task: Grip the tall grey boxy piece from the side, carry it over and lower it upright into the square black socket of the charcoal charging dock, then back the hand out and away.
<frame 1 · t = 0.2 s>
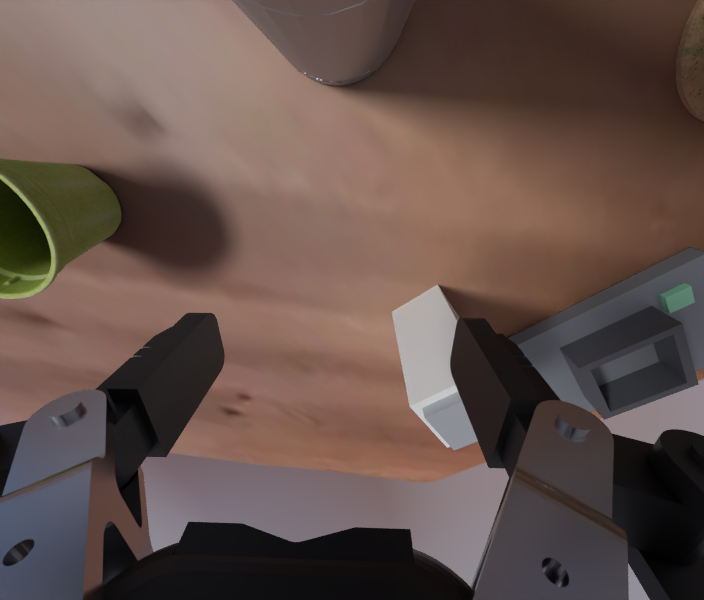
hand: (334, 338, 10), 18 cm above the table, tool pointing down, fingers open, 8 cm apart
plant pot: (87, 201, 26), on the table
grey boxy piece: (427, 316, 30), on the table
dock: (604, 346, 32), on the table
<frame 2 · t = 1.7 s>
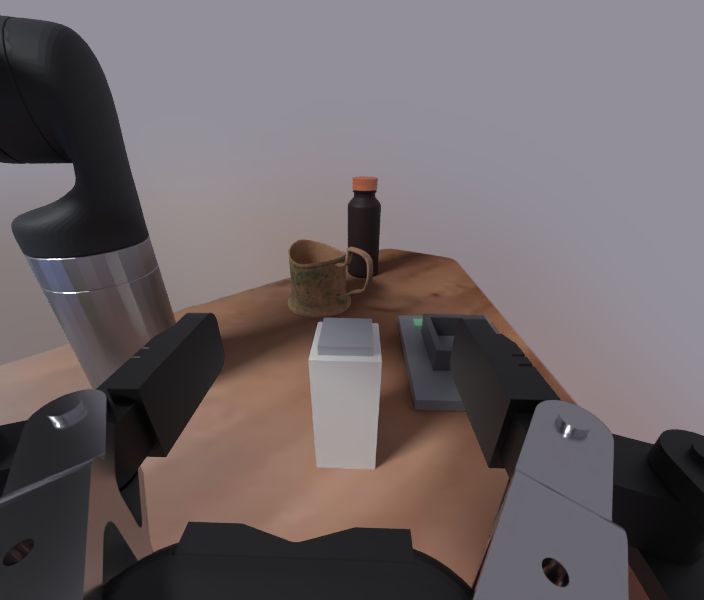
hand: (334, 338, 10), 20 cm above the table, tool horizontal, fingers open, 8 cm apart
bottle: (362, 273, 68), on the table
grey boxy piece: (347, 442, 29), on the table
mug: (331, 308, 53), on the table
dock: (456, 359, 40), on the table
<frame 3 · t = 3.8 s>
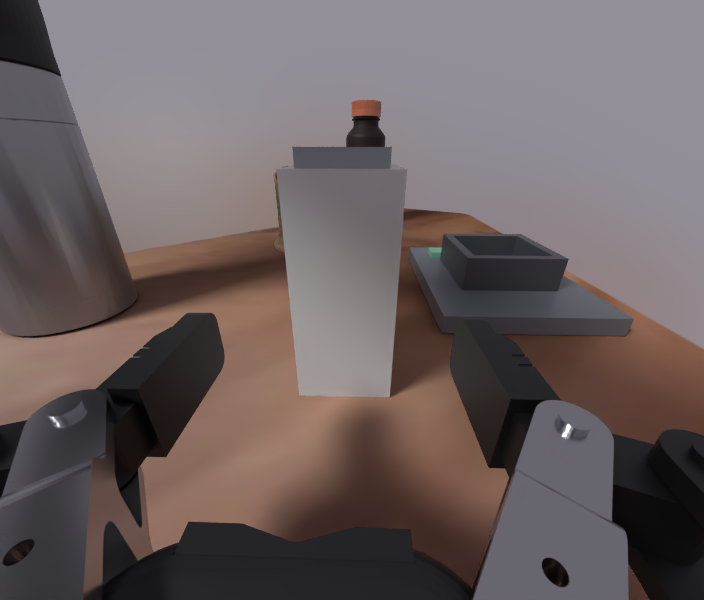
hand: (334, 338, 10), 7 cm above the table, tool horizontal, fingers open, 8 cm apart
bottle: (364, 223, 59), on the table
grey boxy piece: (346, 367, 20), on the table
mug: (326, 248, 44), on the table
dock: (488, 287, 31), on the table
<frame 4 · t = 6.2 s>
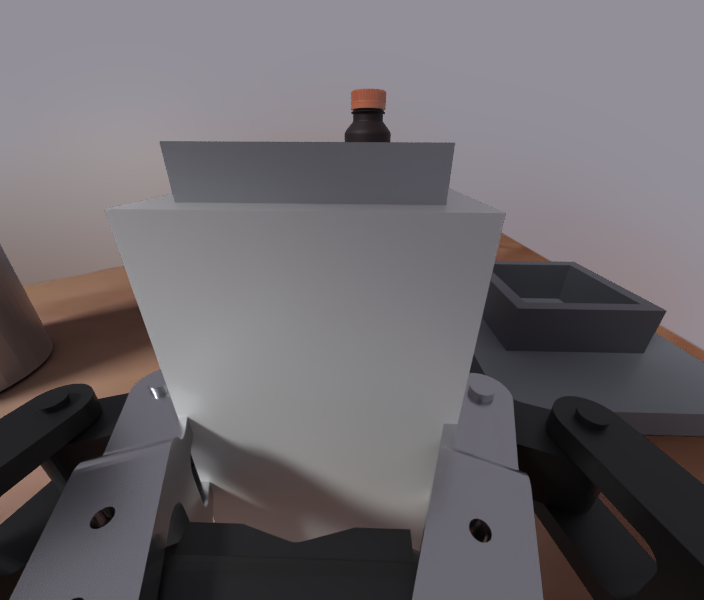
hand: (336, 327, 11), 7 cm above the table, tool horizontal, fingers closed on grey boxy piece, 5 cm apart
bottle: (365, 234, 51), on the table
grey boxy piece: (335, 518, 12), on the table, touching gripper
dock: (533, 335, 23), on the table
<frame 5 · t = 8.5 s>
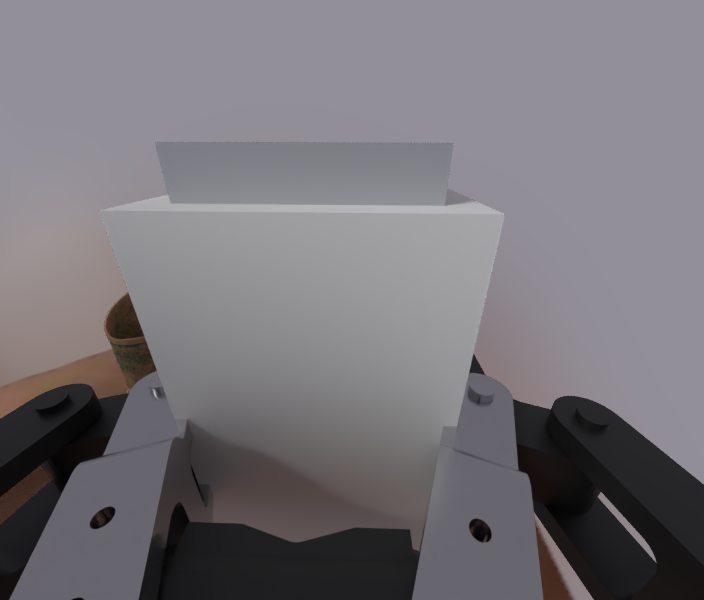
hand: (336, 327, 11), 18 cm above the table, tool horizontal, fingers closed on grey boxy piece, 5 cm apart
grey boxy piece: (335, 520, 12), point 11 cm above the table, touching gripper
mug: (199, 398, 32), on the table
when the fingers open (9 cm above the table, at t = 11.3 s): grey boxy piece stays where it is, resting on dock.
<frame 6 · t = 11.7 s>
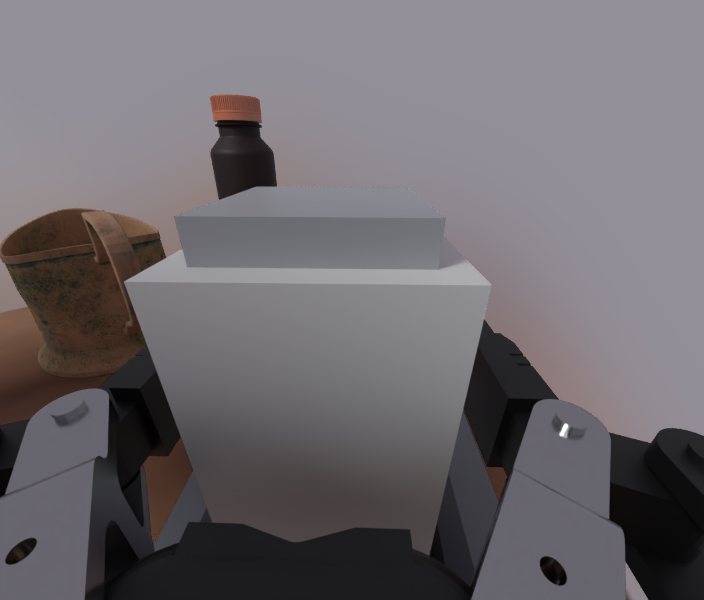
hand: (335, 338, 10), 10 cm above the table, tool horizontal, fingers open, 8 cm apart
bottle: (260, 276, 41), on the table
grey boxy piece: (336, 534, 12), point 1 cm above the table, touching dock
mug: (136, 350, 26), on the table
dock: (336, 552, 13), on the table
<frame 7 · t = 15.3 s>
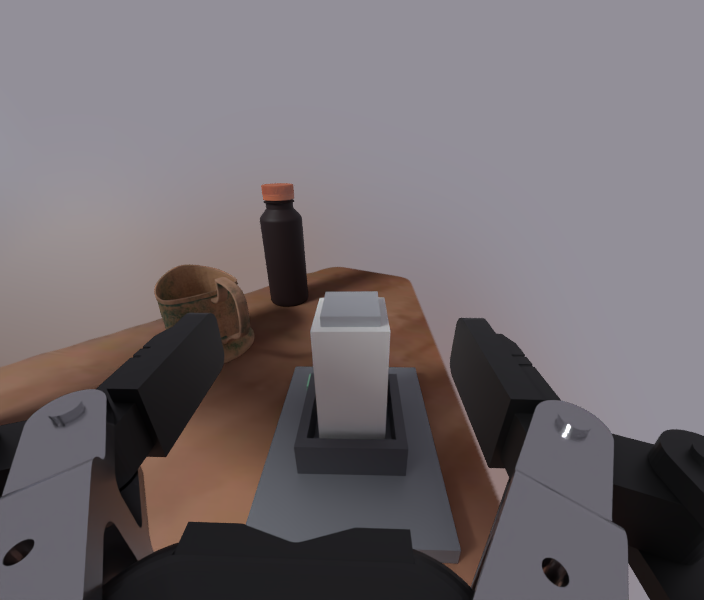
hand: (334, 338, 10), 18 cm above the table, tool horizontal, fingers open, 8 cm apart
bottle: (290, 300, 56), on the table
grey boxy piece: (353, 430, 27), point 1 cm above the table, touching dock
mug: (222, 353, 41), on the table
dock: (353, 441, 28), on the table
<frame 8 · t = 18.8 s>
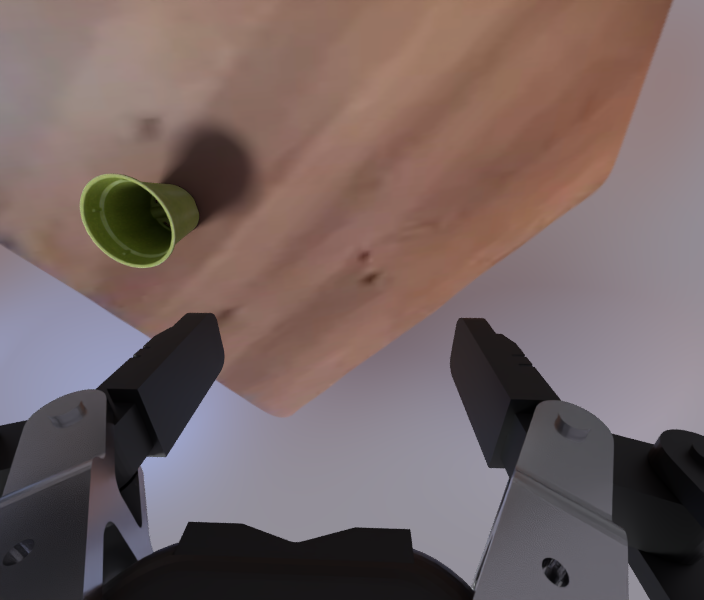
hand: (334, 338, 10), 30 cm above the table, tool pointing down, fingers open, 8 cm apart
plant pot: (176, 208, 38), on the table
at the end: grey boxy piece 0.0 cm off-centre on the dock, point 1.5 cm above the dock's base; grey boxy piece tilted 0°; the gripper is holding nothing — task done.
